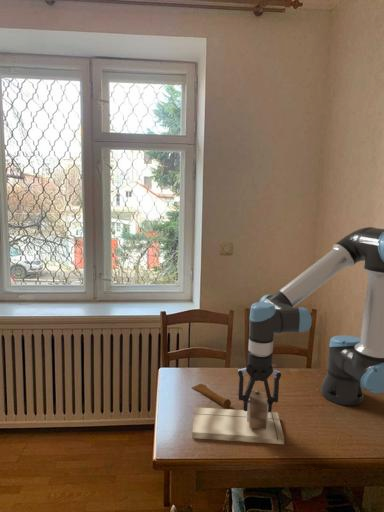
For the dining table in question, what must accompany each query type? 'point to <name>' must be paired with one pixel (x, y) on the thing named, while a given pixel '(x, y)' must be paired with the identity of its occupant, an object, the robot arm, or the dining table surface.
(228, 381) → the dining table surface
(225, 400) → the primitive tool
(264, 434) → the board
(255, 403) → the beige drawer
